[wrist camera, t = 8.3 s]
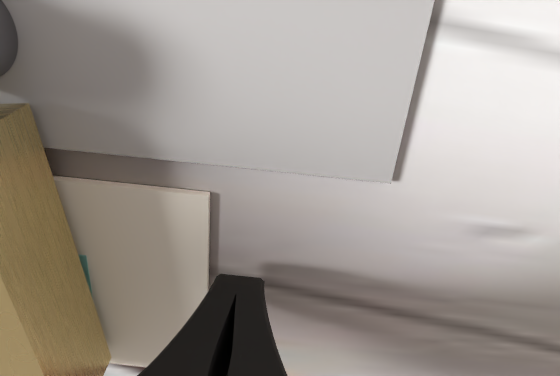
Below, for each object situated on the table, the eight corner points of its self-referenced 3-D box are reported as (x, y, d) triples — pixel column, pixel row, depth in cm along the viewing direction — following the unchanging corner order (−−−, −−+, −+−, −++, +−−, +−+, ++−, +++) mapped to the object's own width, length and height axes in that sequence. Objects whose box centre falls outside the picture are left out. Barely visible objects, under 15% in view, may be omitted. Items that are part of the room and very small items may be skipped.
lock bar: (-66, 105, 12) (-174, 155, 9) (28, 103, 11) (-55, 152, 9) (42, 356, 16) (-10, 438, 13) (111, 357, 16) (72, 440, 13)
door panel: (-89, 337, 17) (-194, 442, 13) (-295, -144, 10) (-634, -191, 6) (341, 381, 17) (351, 499, 13) (447, -68, 10) (527, -71, 6)
